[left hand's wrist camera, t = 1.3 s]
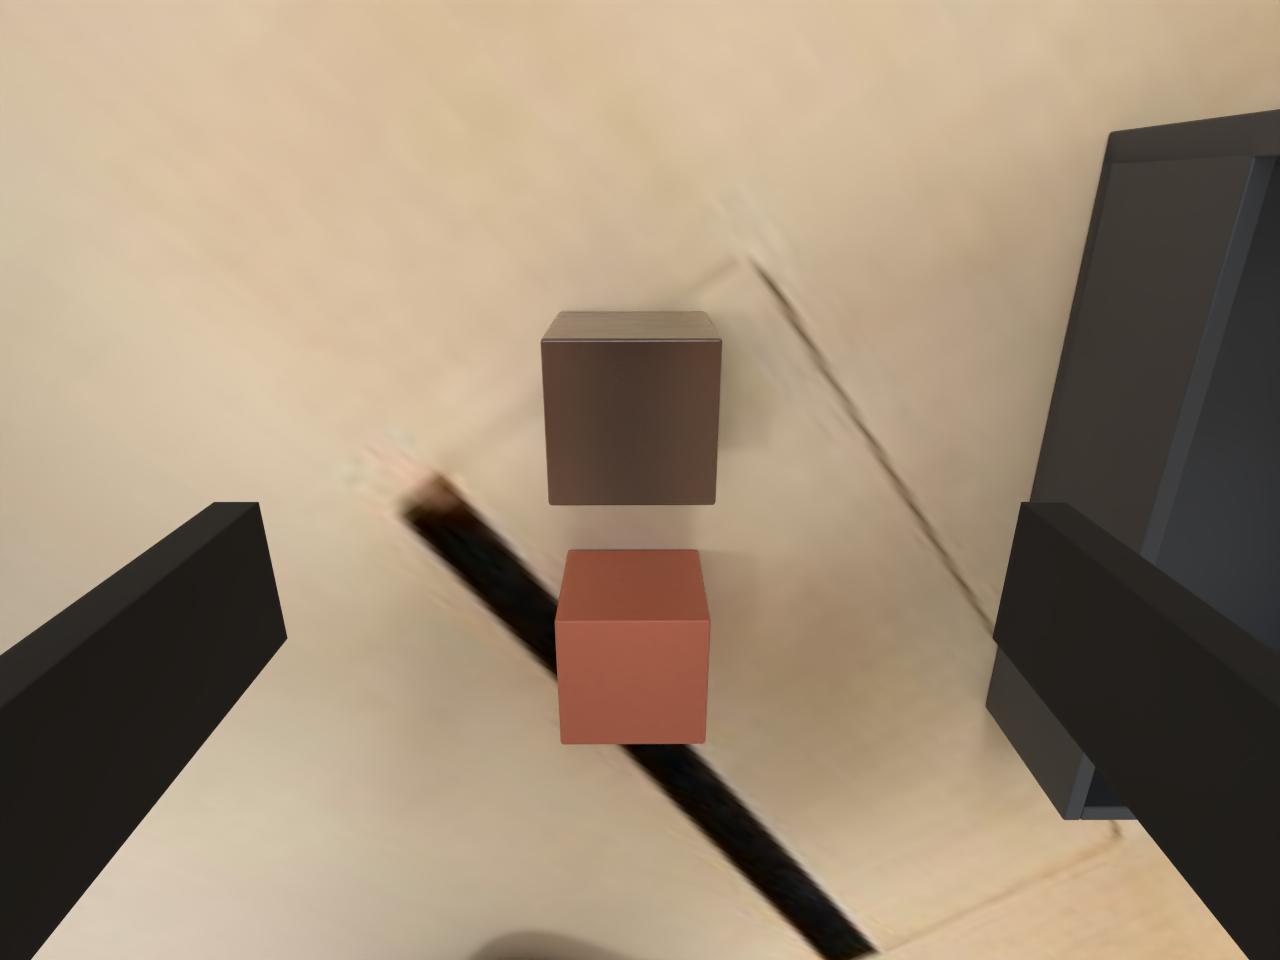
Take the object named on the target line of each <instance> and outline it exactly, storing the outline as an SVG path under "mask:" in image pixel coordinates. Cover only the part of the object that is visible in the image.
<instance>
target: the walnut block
mask: <svg viewBox="0 0 1280 960" xmlns="http://www.w3.org/2000/svg"><path fill="white" fill-rule="evenodd" d="M541 358H542V378H543V398H544V418H545V437H546V457H547V477H548V497H549V504H550V505H713V504H715V500H716V476H717V453H718V429H719V405H720V382H721V358H722V340H721V338H720V336H719V335H718V333H717V331H716V330H715V328H714V326H713V325H712V323H711V321H710V320H709V318H708V316H707V315H706V313H705V312H559V313H558V315H557V316H556V318H555V319H554V321H553V322H552V324H551V326H550V327H549V329H548V330H547V332H546V333H545V335H544V336H543V338H542V340H541Z"/></svg>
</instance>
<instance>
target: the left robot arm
mask: <svg viewBox="0 0 1280 960" xmlns="http://www.w3.org/2000/svg"><path fill="white" fill-rule="evenodd" d="M286 639H287V634H286V629H285V625H284V620H283V615H282V610H281V606H280V601H279V596H278V591H277V587H276V582H275V577H274V573H273V568H272V563H271V558H270V554H269V549H268V544H267V539H266V535H265V530H264V525H263V521H262V516H261V511H260V506H259V502H214V503H212V504H211V505H209V506H208V507H207V508H205V509H204V510H202V511H201V512H200V513H198V514H197V515H195V516H194V517H193V518H191V519H190V520H189V521H187V522H186V523H184V524H183V525H182V526H180V527H179V528H177V529H176V530H175V531H173V532H172V533H170V534H169V535H168V536H166V537H165V538H163V539H162V540H161V541H159V542H158V543H156V544H155V545H154V546H152V547H151V548H149V549H148V550H147V551H145V552H144V553H143V554H141V555H140V556H138V557H137V558H136V559H134V560H133V561H131V562H130V563H129V564H127V565H126V566H124V567H123V568H122V569H120V570H119V571H117V572H116V573H115V574H113V575H112V576H110V577H109V578H108V579H106V580H105V581H103V582H102V583H101V584H99V585H98V586H97V587H95V588H94V589H92V590H91V591H90V592H88V593H87V594H85V595H84V596H83V597H81V598H80V599H78V600H77V601H76V602H74V603H73V604H71V605H70V606H69V607H67V608H66V609H64V610H63V611H62V612H60V613H59V614H57V615H56V616H55V617H53V618H52V619H51V620H49V621H48V622H46V623H45V624H44V625H42V626H41V627H39V628H38V629H37V630H35V631H34V632H32V633H31V634H30V635H28V636H27V637H25V638H24V639H23V640H21V641H20V642H18V643H17V644H16V645H14V646H13V647H11V648H10V649H9V650H7V651H6V652H5V653H3V654H2V655H0V960H31V959H32V958H33V956H34V955H35V954H36V953H37V951H38V950H39V949H40V948H41V946H42V945H43V944H44V943H45V941H46V940H47V939H48V938H49V936H50V935H51V934H52V933H53V931H54V930H55V929H56V928H57V926H58V925H59V924H60V923H61V921H62V920H63V919H64V918H65V916H66V915H67V914H68V913H69V911H70V910H71V909H72V908H73V906H74V905H75V904H76V902H77V901H78V900H79V899H80V897H81V896H82V895H83V894H84V892H85V891H86V890H87V889H88V887H89V886H90V885H91V884H92V882H93V881H94V880H95V879H96V877H97V876H98V875H99V874H100V872H101V871H102V870H103V869H104V867H105V866H106V865H107V864H108V862H109V861H110V860H111V859H112V857H113V856H114V855H115V854H116V852H117V851H118V850H119V849H120V847H121V846H122V845H123V844H124V842H125V841H126V840H127V839H128V837H129V836H130V835H131V834H132V832H133V831H134V830H135V829H136V827H137V826H138V825H139V824H140V822H141V821H142V820H143V819H144V817H145V816H146V815H147V814H148V812H149V811H150V810H151V809H152V807H153V806H154V805H155V804H156V802H157V801H158V800H159V799H160V797H161V796H162V795H163V794H164V792H165V791H166V790H167V789H168V787H169V786H170V785H171V783H172V782H173V781H174V780H175V778H176V777H177V776H178V775H179V773H180V772H181V771H182V770H183V768H184V767H185V766H186V765H187V763H188V762H189V761H190V760H191V758H192V757H193V756H194V755H195V753H196V752H197V751H198V750H199V748H200V747H201V746H202V745H203V743H204V742H205V741H206V740H207V738H208V737H209V736H210V735H211V733H212V732H213V731H214V730H215V728H216V727H217V726H218V725H219V723H220V722H221V721H222V720H223V718H224V717H225V716H226V715H227V713H228V712H229V711H230V710H231V708H232V707H233V706H234V705H235V703H236V702H237V701H238V700H239V698H240V697H241V696H242V695H243V693H244V692H245V691H246V690H247V688H248V687H249V686H250V685H251V683H252V682H253V681H254V680H255V678H256V677H257V676H258V675H259V673H260V672H261V671H262V669H263V668H264V667H265V666H266V664H267V663H268V662H269V661H270V659H271V658H272V657H273V656H274V654H275V653H276V652H277V651H278V649H279V648H280V647H281V646H282V644H283V643H284V642H285V641H286ZM993 639H994V641H995V642H996V643H997V644H998V646H999V647H1000V648H1001V649H1002V651H1003V652H1004V653H1005V654H1006V656H1007V657H1008V658H1009V659H1010V661H1011V662H1012V663H1013V664H1014V666H1015V667H1016V668H1017V669H1018V671H1019V672H1020V673H1021V675H1022V676H1023V677H1024V678H1025V680H1026V681H1027V682H1028V683H1029V685H1030V686H1031V687H1032V688H1033V690H1034V691H1035V692H1036V693H1037V695H1038V696H1039V697H1040V698H1041V700H1042V701H1043V702H1044V703H1045V705H1046V706H1047V707H1048V708H1049V710H1050V711H1051V712H1052V713H1053V715H1054V716H1055V717H1056V718H1057V720H1058V721H1059V722H1060V723H1061V725H1062V726H1063V727H1064V728H1065V730H1066V731H1067V732H1068V733H1069V735H1070V736H1071V737H1072V738H1073V740H1074V741H1075V742H1076V743H1077V745H1078V746H1079V747H1080V748H1081V750H1082V751H1083V752H1084V753H1085V755H1086V756H1087V757H1088V758H1089V760H1090V761H1091V762H1092V763H1093V765H1094V766H1095V767H1096V768H1097V770H1098V771H1099V772H1100V773H1101V775H1102V776H1103V777H1104V778H1105V780H1106V781H1107V782H1108V783H1109V785H1110V786H1111V787H1112V788H1113V790H1114V791H1115V792H1116V794H1117V795H1118V796H1119V797H1120V799H1121V800H1122V801H1123V802H1124V804H1125V805H1126V806H1127V807H1128V809H1129V810H1130V811H1131V812H1132V814H1133V815H1134V816H1135V817H1136V819H1137V820H1138V821H1139V822H1140V824H1141V825H1142V826H1143V827H1144V829H1145V830H1146V831H1147V832H1148V834H1149V835H1150V836H1151V837H1152V839H1153V840H1154V841H1155V842H1156V844H1157V845H1158V846H1159V847H1160V849H1161V850H1162V851H1163V852H1164V854H1165V855H1166V856H1167V857H1168V859H1169V860H1170V861H1171V862H1172V864H1173V865H1174V866H1175V867H1176V869H1177V870H1178V871H1179V872H1180V874H1181V875H1182V876H1183V877H1184V879H1185V880H1186V881H1187V882H1188V884H1189V885H1190V886H1191V887H1192V889H1193V890H1194V891H1195V892H1196V894H1197V895H1198V896H1199V897H1200V899H1201V900H1202V901H1203V902H1204V904H1205V905H1206V906H1207V908H1208V909H1209V910H1210V911H1211V913H1212V914H1213V915H1214V916H1215V918H1216V919H1217V920H1218V921H1219V923H1220V924H1221V925H1222V926H1223V928H1224V929H1225V930H1226V931H1227V933H1228V934H1229V935H1230V936H1231V938H1232V939H1233V940H1234V941H1235V943H1236V944H1237V945H1238V946H1239V948H1240V949H1241V950H1242V951H1243V953H1244V954H1245V955H1246V956H1247V958H1248V959H1249V960H1280V654H1279V653H1277V652H1274V651H1273V650H1271V649H1270V648H1269V647H1267V646H1266V645H1264V644H1263V643H1262V642H1260V641H1259V640H1257V639H1256V638H1255V637H1253V636H1252V635H1250V634H1249V633H1248V632H1246V631H1245V630H1243V629H1242V628H1241V627H1239V626H1238V625H1236V624H1235V623H1234V622H1232V621H1231V620H1229V619H1228V618H1227V617H1225V616H1224V615H1223V614H1221V613H1220V612H1218V611H1217V610H1216V609H1214V608H1213V607H1211V606H1210V605H1209V604H1207V603H1206V602H1204V601H1203V600H1202V599H1200V598H1199V597H1197V596H1196V595H1195V594H1193V593H1192V592H1190V591H1189V590H1188V589H1186V588H1185V587H1183V586H1182V585H1181V584H1179V583H1178V582H1177V581H1175V580H1174V579H1172V578H1171V577H1170V576H1168V575H1167V574H1165V573H1164V572H1163V571H1161V570H1160V569H1158V568H1157V567H1156V566H1154V565H1153V564H1151V563H1150V562H1149V561H1147V560H1146V559H1144V558H1143V557H1142V556H1140V555H1139V554H1137V553H1136V552H1135V551H1133V550H1132V549H1131V548H1129V547H1128V546H1126V545H1125V544H1124V543H1122V542H1121V541H1119V540H1118V539H1117V538H1115V537H1114V536H1112V535H1111V534H1110V533H1108V532H1107V531H1105V530H1104V529H1103V528H1101V527H1100V526H1098V525H1097V524H1096V523H1094V522H1093V521H1091V520H1090V519H1089V518H1087V517H1086V516H1085V515H1083V514H1082V513H1080V512H1079V511H1078V510H1076V509H1075V508H1073V507H1072V506H1071V505H1069V504H1068V503H1066V502H1021V506H1020V511H1019V516H1018V521H1017V525H1016V530H1015V535H1014V539H1013V544H1012V549H1011V554H1010V558H1009V563H1008V568H1007V573H1006V577H1005V582H1004V587H1003V591H1002V596H1001V601H1000V606H999V610H998V615H997V620H996V625H995V629H994V634H993Z"/></svg>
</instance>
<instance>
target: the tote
mask: <svg viewBox="0 0 1280 960" xmlns="http://www.w3.org/2000/svg"><path fill="white" fill-rule="evenodd" d="M1030 502H1066V503H1068V504H1069V505H1071V506H1072V507H1073V508H1075V509H1076V510H1078V511H1079V512H1080V513H1082V514H1083V515H1085V516H1086V517H1087V518H1089V519H1090V520H1091V521H1093V522H1094V523H1096V524H1097V525H1098V526H1100V527H1101V528H1103V529H1104V530H1105V531H1107V532H1108V533H1110V534H1111V535H1112V536H1114V537H1115V538H1117V539H1118V540H1119V541H1121V542H1122V543H1124V544H1125V545H1126V546H1128V547H1129V548H1131V549H1132V550H1133V551H1135V552H1136V553H1137V554H1139V555H1140V556H1142V557H1143V558H1144V559H1146V560H1147V561H1149V562H1150V563H1151V564H1153V565H1154V566H1156V567H1157V568H1158V569H1160V570H1161V571H1163V572H1164V573H1165V574H1167V575H1168V576H1170V577H1171V578H1172V579H1174V580H1175V581H1177V582H1178V583H1179V584H1181V585H1182V586H1183V587H1185V588H1186V589H1188V590H1189V591H1190V592H1192V593H1193V594H1195V595H1196V596H1197V597H1199V598H1200V599H1202V600H1203V601H1204V602H1206V603H1207V604H1209V605H1210V606H1211V607H1213V608H1214V609H1216V610H1217V611H1218V612H1220V613H1221V614H1223V615H1224V616H1225V617H1227V618H1228V619H1229V620H1231V621H1232V622H1234V623H1235V624H1236V625H1238V626H1239V627H1241V628H1242V629H1243V630H1245V631H1246V632H1248V633H1249V634H1250V635H1252V636H1253V637H1255V638H1256V639H1257V640H1259V641H1260V642H1262V643H1263V644H1264V645H1266V646H1267V647H1269V648H1270V649H1271V650H1273V651H1274V652H1277V653H1279V654H1280V109H1278V110H1271V111H1263V112H1256V113H1248V114H1241V115H1233V116H1226V117H1218V118H1211V119H1203V120H1196V121H1189V122H1181V123H1174V124H1166V125H1159V126H1151V127H1144V128H1136V129H1129V130H1121V131H1114V132H1111V133H1110V136H1109V141H1108V145H1107V150H1106V155H1105V159H1104V164H1103V169H1102V174H1101V178H1100V183H1099V187H1098V192H1097V197H1096V201H1095V206H1094V210H1093V215H1092V220H1091V224H1090V229H1089V233H1088V238H1087V243H1086V247H1085V252H1084V256H1083V261H1082V266H1081V270H1080V275H1079V279H1078V284H1077V289H1076V293H1075V298H1074V302H1073V307H1072V312H1071V316H1070V321H1069V325H1068V330H1067V335H1066V339H1065V344H1064V348H1063V353H1062V358H1061V362H1060V367H1059V371H1058V376H1057V381H1056V385H1055V390H1054V394H1053V399H1052V404H1051V408H1050V413H1049V417H1048V422H1047V427H1046V431H1045V436H1044V440H1043V445H1042V450H1041V454H1040V459H1039V463H1038V468H1037V473H1036V477H1035V482H1034V486H1033V491H1032V496H1031V500H1030ZM986 708H987V709H988V711H989V712H990V714H991V715H992V716H993V718H994V719H995V721H996V722H997V724H998V725H999V727H1000V728H1001V729H1002V731H1003V732H1004V734H1005V735H1006V737H1007V738H1008V740H1009V741H1010V743H1011V744H1012V745H1013V747H1014V748H1015V750H1016V751H1017V753H1018V754H1019V756H1020V757H1021V759H1022V760H1023V761H1024V763H1025V764H1026V766H1027V767H1028V769H1029V770H1030V772H1031V773H1032V775H1033V776H1034V777H1035V779H1036V780H1037V782H1038V783H1039V785H1040V786H1041V788H1042V789H1043V791H1044V792H1045V793H1046V795H1047V796H1048V798H1049V799H1050V801H1051V802H1052V804H1053V805H1054V807H1055V808H1056V809H1057V811H1058V812H1059V814H1060V815H1061V817H1062V818H1063V819H1064V820H1079V819H1081V820H1137V819H1136V817H1135V816H1134V815H1133V814H1132V812H1131V811H1130V810H1129V809H1128V807H1127V806H1126V805H1125V804H1124V802H1123V801H1122V800H1121V799H1120V797H1119V796H1118V795H1117V794H1116V792H1115V791H1114V790H1113V788H1112V787H1111V786H1110V785H1109V783H1108V782H1107V781H1106V780H1105V778H1104V777H1103V776H1102V775H1101V773H1100V772H1099V771H1098V770H1097V768H1096V767H1095V766H1094V765H1093V763H1092V762H1091V761H1090V760H1089V758H1088V757H1087V756H1086V755H1085V753H1084V752H1083V751H1082V750H1081V748H1080V747H1079V746H1078V745H1077V743H1076V742H1075V741H1074V740H1073V738H1072V737H1071V736H1070V735H1069V733H1068V732H1067V731H1066V730H1065V728H1064V727H1063V726H1062V725H1061V723H1060V722H1059V721H1058V720H1057V718H1056V717H1055V716H1054V715H1053V713H1052V712H1051V711H1050V710H1049V708H1048V707H1047V706H1046V705H1045V703H1044V702H1043V701H1042V700H1041V698H1040V697H1039V696H1038V695H1037V693H1036V692H1035V691H1034V690H1033V688H1032V687H1031V686H1030V685H1029V683H1028V682H1027V681H1026V680H1025V678H1024V677H1023V676H1022V675H1021V673H1020V672H1019V671H1018V669H1017V668H1016V667H1015V666H1014V664H1013V663H1012V662H1011V661H1010V659H1009V658H1008V657H1007V656H1006V654H1005V653H1004V652H1003V651H1002V649H1001V648H1000V647H998V652H997V657H996V661H995V666H994V670H993V675H992V680H991V684H990V689H989V693H988V698H987V703H986Z"/></svg>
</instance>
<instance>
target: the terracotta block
mask: <svg viewBox="0 0 1280 960" xmlns="http://www.w3.org/2000/svg"><path fill="white" fill-rule="evenodd" d="M555 636H556V656H557V676H558V696H559V715H560V735H561V743H562V744H703V743H705V736H706V713H707V689H708V665H709V642H710V617H709V611H708V606H707V600H706V594H705V589H704V583H703V577H702V572H701V566H700V561H699V555H698V551H697V550H590V551H568V554H567V559H566V565H565V570H564V576H563V581H562V586H561V592H560V597H559V602H558V608H557V613H556V618H555Z"/></svg>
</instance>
